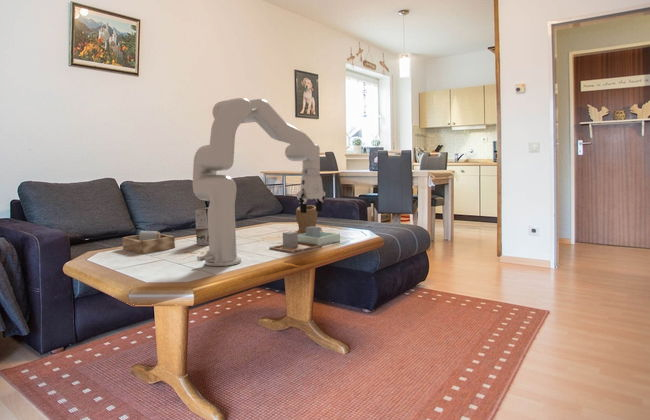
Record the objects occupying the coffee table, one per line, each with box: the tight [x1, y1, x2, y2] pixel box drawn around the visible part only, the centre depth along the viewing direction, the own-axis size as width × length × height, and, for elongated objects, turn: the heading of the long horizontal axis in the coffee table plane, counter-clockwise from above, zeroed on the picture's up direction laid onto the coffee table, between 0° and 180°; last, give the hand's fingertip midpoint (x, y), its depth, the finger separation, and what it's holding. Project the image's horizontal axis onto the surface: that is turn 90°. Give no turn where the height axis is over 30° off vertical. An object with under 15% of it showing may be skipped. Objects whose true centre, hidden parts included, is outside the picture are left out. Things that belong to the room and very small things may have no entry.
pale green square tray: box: [298, 231, 341, 246], centre depth 192 cm, size 14×14×4 cm
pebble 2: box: [306, 225, 321, 238], centre depth 194 cm, size 4×4×6 cm
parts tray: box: [268, 242, 323, 254], centre depth 179 cm, size 16×14×2 cm
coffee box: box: [194, 206, 209, 246], centre depth 197 cm, size 9×6×16 cm
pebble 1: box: [282, 231, 298, 248], centre depth 181 cm, size 4×4×6 cm
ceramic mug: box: [138, 230, 162, 241], centre depth 192 cm, size 11×8×8 cm
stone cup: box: [294, 204, 324, 234], centre depth 212 cm, size 15×12×15 cm
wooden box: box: [121, 233, 176, 255], centre depth 189 cm, size 15×17×5 cm
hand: (311, 212), depth 192 cm, fingers open, 9 cm apart
